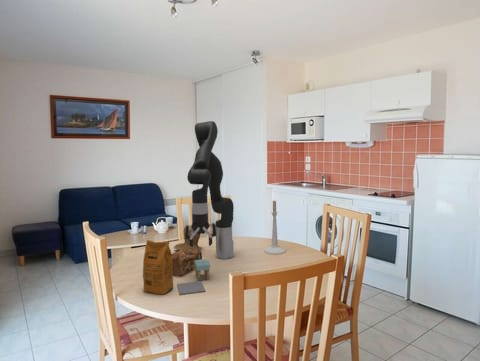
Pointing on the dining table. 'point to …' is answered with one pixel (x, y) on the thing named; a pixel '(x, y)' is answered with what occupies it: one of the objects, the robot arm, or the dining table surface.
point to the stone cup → (186, 243)
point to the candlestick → (274, 236)
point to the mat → (190, 288)
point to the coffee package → (157, 267)
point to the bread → (185, 260)
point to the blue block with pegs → (202, 267)
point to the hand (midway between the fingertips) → (200, 246)
